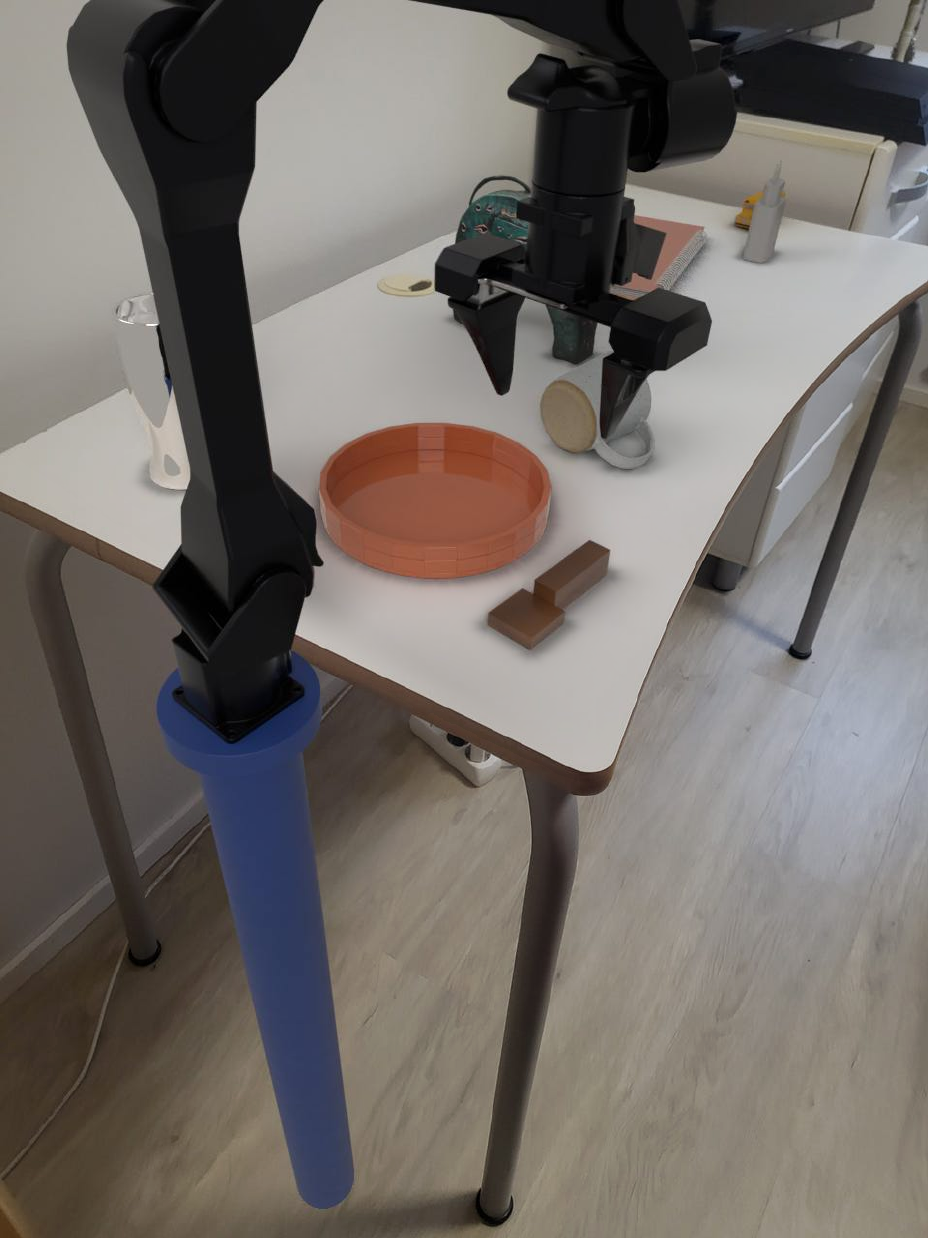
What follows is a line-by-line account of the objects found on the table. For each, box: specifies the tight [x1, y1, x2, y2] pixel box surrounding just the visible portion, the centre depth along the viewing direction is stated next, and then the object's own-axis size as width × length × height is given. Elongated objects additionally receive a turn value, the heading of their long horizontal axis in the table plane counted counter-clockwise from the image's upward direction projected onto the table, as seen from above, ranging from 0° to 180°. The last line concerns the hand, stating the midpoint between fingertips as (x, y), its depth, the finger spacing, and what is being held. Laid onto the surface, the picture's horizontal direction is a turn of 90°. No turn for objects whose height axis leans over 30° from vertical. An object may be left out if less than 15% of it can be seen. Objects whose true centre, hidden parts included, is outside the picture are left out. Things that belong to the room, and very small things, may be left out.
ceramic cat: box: [452, 174, 599, 365], centre depth 100 cm, size 20×6×20 cm, turn 51°
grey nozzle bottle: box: [742, 160, 787, 264], centre depth 126 cm, size 3×5×12 cm, turn 150°
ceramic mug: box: [539, 350, 656, 470], centre depth 86 cm, size 11×8×8 cm
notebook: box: [611, 214, 708, 300], centre depth 126 cm, size 27×17×2 cm, turn 156°
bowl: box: [318, 422, 553, 579], centre depth 79 cm, size 19×19×3 cm
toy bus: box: [734, 190, 786, 229], centre depth 139 cm, size 3×10×4 cm, turn 140°
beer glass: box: [110, 291, 190, 491], centre depth 78 cm, size 7×7×15 cm
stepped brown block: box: [487, 539, 611, 651], centre depth 70 cm, size 4×11×2 cm, turn 139°
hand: (553, 414), depth 67 cm, fingers open, 9 cm apart
